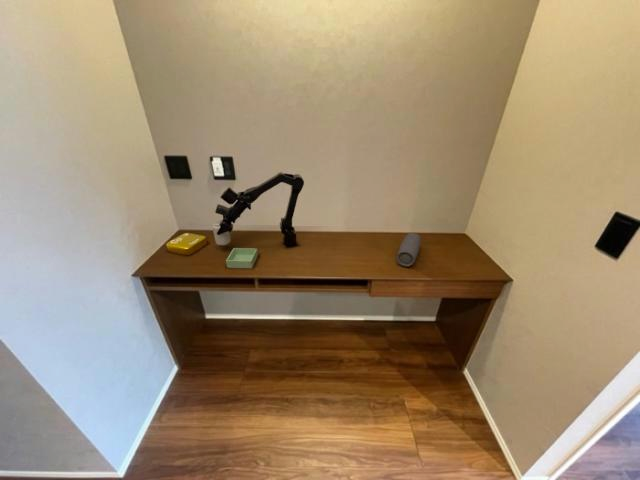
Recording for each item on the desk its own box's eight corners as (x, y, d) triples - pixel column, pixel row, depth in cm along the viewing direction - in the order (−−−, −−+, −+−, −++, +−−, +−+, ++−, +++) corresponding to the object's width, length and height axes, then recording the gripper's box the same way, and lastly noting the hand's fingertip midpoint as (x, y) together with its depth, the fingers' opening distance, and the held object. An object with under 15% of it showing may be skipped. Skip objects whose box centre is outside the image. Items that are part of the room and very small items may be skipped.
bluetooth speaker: (402, 245, 149) (405, 230, 144) (419, 249, 145) (423, 233, 140) (393, 265, 130) (397, 248, 126) (413, 270, 127) (417, 253, 122)
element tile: (189, 256, 136) (186, 248, 133) (166, 251, 140) (163, 243, 138) (208, 243, 148) (207, 235, 146) (187, 238, 152) (185, 231, 150)
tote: (257, 255, 138) (257, 248, 136) (252, 268, 127) (251, 261, 125) (234, 254, 138) (233, 248, 136) (227, 267, 127) (225, 260, 125)
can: (226, 247, 136) (222, 226, 131) (213, 245, 138) (208, 224, 132) (233, 240, 143) (229, 220, 137) (220, 238, 144) (216, 218, 138)
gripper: (225, 193, 137) (207, 214, 141) (220, 206, 121) (200, 229, 125) (243, 206, 143) (225, 226, 146) (240, 220, 126) (221, 242, 130)
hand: (218, 231), depth 137 cm, fingers closed on can, 7 cm apart
